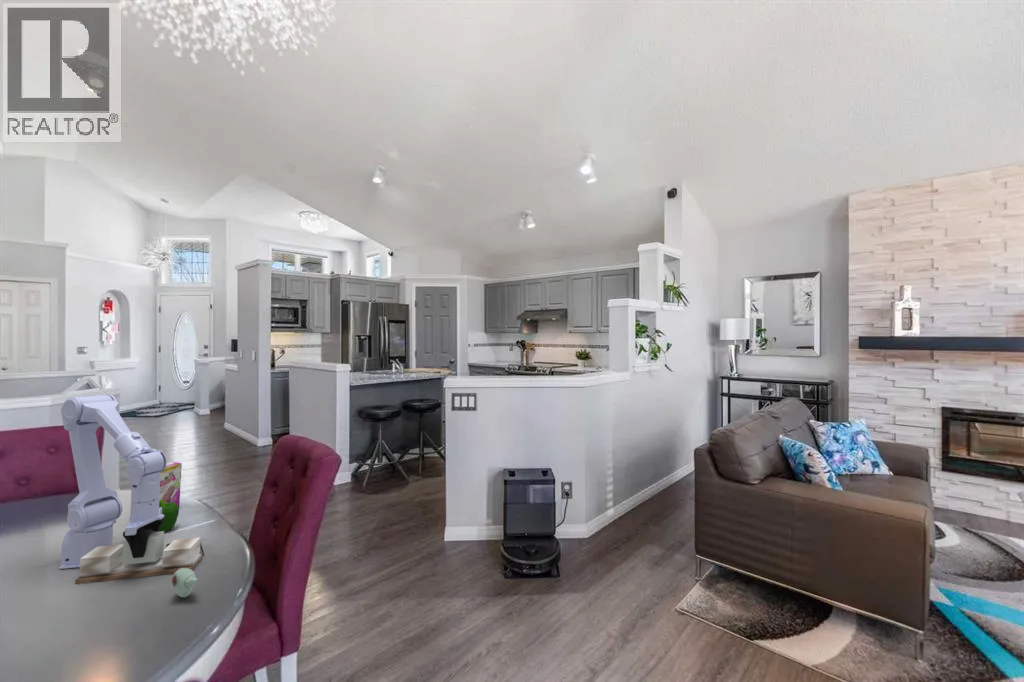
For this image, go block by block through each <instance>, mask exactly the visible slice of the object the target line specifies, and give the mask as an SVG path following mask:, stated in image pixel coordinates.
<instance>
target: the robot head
mask: <svg viewBox="0 0 1024 682" xmlns="http://www.w3.org/2000/svg"><path fill="white" fill-rule="evenodd" d="M172 575H173V576H172V579H171V583H172V584H171V585H172V589H173V591H174V593H176V595H177V596H179V597H180V598H187V597H188V596H190V595H191V593H192V590H193V589H194V585H195V584H196V583H197V582H198V580H199V579H198V578H197V577H196V573H195V572H194V571H193V570H191V569H188V568H181V569H179V570H177V571H176V572H175V574H172Z"/></svg>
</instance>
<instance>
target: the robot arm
mask: <svg viewBox="0 0 1024 682" xmlns="http://www.w3.org/2000/svg"><path fill="white" fill-rule="evenodd" d="M119 408H120V403H119V401H118V400H117V399H116V397H115V396H114V395H113V394H109V393H108V394H107V393H106V394H103V395H91V396H77V397H75V396H70V397H69V398H67V399H66V400H65V401H64V403H63V405H62V406H61V408H60V413H61V418H62V419H61V420H62V423H63V429H64V430H65V431H67V432H68V435H69V440H70V447H71V451H72V458H73V463H74V465H73V466H74V470H75V475H76V480H77V487H78V492H79V493H78V494H77V496H75V497H74V498H73V499H72V500H71V501H70V502H69V503H68V504H67V511H68V512H67V517H66V521H67V526H68V528H69V529H68V531H66V533H65V534H64V536H63V539H62V543H61V556H60V557H61V558H60V559H61V563H60V566H59V567H58V569H59V570H63V569H64V570H65V569H73V568H74V569H75V568H80V558H82V557H83V556H85V555H86V554H88V553H89V552H90V551H92V550H93V549H95V548H96V547H99V546H110V545H113V537H114V536H113V535H114V533H113V532H114V524H116V523H117V520H118V519H119V518H120V517H121V515H122V513H123V509H124V508H123V503H122V501H121V499H120V498H119V496H118V492H117V491H116V490H115V489H111V488H109V487H106V481H105V477H104V471H103V465H102V461H101V454H100V449H99V445H98V444H99V443H98V438H97V433H96V432H97V430H98V429H99V427H102V428H103V429H104V430H105V431H106V432H107V433H108V434H109V435H110V436H111V437H112V438H113V439H114V440H115V441H114V443H113V448H115V450H116V452H118V454H119V455H120V456H121V457H122V459H123V460H124V461H125V462H126V463H127V464H126V465H125V470H126V471H125V472H126V474H127V475H128V482H129V484H130V485H131V492H130V493H131V494H130V519H128V524H127V526H126V527H125V529H124V531H123V532H122V536H123V538H124V540H125V539H126V540H127V542H128V544H129V546H130V549H131V552H132V556H133V558H141V557H144V555H145V552H146V546H147V541H148V538H149V535H150V533H151V532H152V531H155V532H159V529H160V527H161V525H162V524H163V522H164V514H162V507H159V497H160V472H162V471H163V470H164V469H165V467H166V464H167V463H168V462H167V457H166V455H165V454H164V452H163V451H162V450H159V449H156V448H152V447H151V446H150V445H149V444H148V443H147V441H146V440H145V439H144V437H142V435H141V434H140V433H139V432H138V431H137V432H136V431H131V430H130V428H129V426H128V425H127V423H126V422H125V421H124V419H123V418H122V416H121V415H120V413H119ZM97 500H98V501H97ZM93 501H94V502H93ZM89 502H91V503H89Z"/></svg>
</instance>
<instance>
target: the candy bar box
mask: <svg viewBox="0 0 1024 682" xmlns="http://www.w3.org/2000/svg"><path fill="white" fill-rule="evenodd" d="M182 467H183V465H182V463H181V462H167V464H166V467H165V469H164V470H163V471H162V472H160V497H159V499H160V500H162V501H163V503H169V502H174V503H175V504H176V505H178V507H179V508H180V504H181V503H180V501H181V499H180V498H181V481H182Z"/></svg>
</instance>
